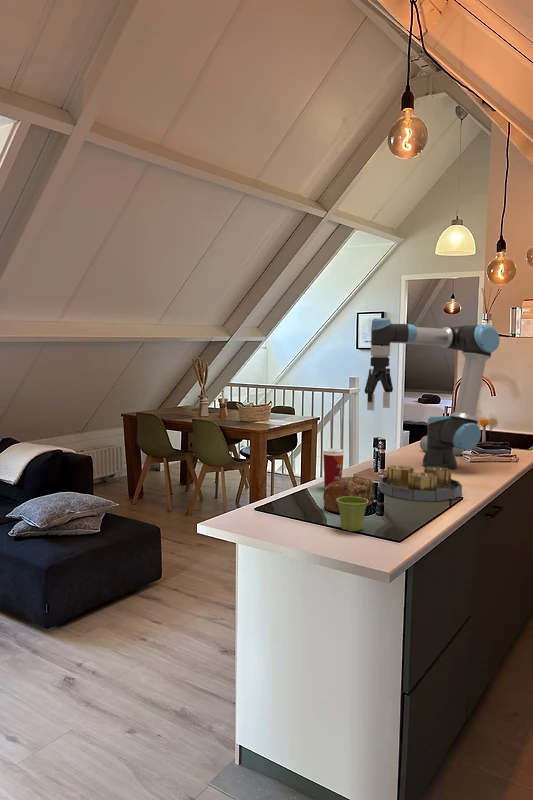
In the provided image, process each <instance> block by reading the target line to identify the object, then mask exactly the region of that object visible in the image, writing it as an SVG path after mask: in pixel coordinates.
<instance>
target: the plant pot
mask: <svg viewBox="0 0 533 800" xmlns="http://www.w3.org/2000/svg"><path fill="white" fill-rule="evenodd" d="M336 501H337V502H338V506H339V510H340V513H339V515H340V525H341V530H344V531H345V530H346V531H348V532H358V531H361V530H362V529H363V526H364V520H365V519H364V518H365V514H366V508H367V507H368V506H367V503H368V502H369V501H368V500H367V499H365V498H361V497H340V498H337V499H336Z"/></svg>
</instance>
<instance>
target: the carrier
mask: <svg viewBox="0 0 533 800" xmlns="http://www.w3.org/2000/svg"><path fill="white" fill-rule="evenodd" d="M399 469H403V468H399ZM420 476H424V475H420ZM378 487H379V492H380V493H381V494H384V495H387V496H389V497H391V498H395V499H396V498H397V499H400V500H401V499H403V500H406V501H407V500H409V501H414V502H416V501H417V502H418V501H419V502H440V501H439V500H445V499H453V498H456V497H458V498H460V497H462V494H463V485H462V484H461V483H460V482H459V480H456V479H453V478H451V486H448V487H437V488H436V491H428V490H411V489H408V486H407V485H401V486H398V485H393V484H392V485H391V484H389V483H388V482H387V475H384V476H381V477H379V482H378ZM456 499H457V498H456Z"/></svg>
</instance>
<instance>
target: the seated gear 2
mask: <svg viewBox="0 0 533 800" xmlns="http://www.w3.org/2000/svg"><path fill="white" fill-rule="evenodd" d="M423 472H424V473H433V474H434V475H437V487H448V486H451V479H452V469H448V468H442V467H437V466H436V467H424V468H423Z"/></svg>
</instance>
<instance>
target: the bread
mask: <svg viewBox="0 0 533 800" xmlns="http://www.w3.org/2000/svg"><path fill="white" fill-rule="evenodd" d="M375 487H376V485H375V483H374V481H373V480H371V479H369V478H366V477H362V476H344V477H342V479H340V480H337V481H334V482H332V483H330V484H329V485H328V486H327V487H325V486H324V490H323V496H322V497H323V507H324V509H325V510H327V511H329V512H335V513H338V514H340V510H339V506H338V502H337V501H336V499H337V498H340V497H361V498H365V499H367V500H368V501H369V502H368V503H367V507H368V506H371V505H372V504H373V503H374V499H375V492H376V491H375Z"/></svg>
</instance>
